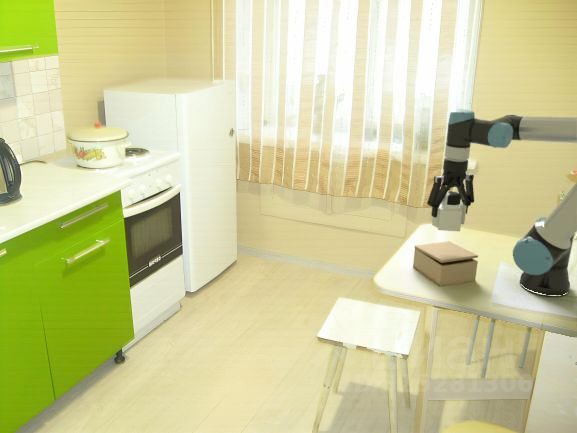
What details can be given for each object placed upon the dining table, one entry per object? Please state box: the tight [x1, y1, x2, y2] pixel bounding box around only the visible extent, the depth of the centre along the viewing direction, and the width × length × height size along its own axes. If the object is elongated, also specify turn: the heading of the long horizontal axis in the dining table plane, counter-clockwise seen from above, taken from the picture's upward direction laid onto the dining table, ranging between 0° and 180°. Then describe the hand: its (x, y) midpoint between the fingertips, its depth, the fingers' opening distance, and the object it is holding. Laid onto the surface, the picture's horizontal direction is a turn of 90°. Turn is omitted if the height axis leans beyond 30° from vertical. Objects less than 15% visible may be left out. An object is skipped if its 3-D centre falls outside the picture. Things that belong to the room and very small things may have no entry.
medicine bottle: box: [436, 190, 463, 232], centre depth 202 cm, size 7×7×12 cm
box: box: [412, 247, 479, 287], centre depth 208 cm, size 16×14×7 cm
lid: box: [414, 241, 479, 263], centre depth 206 cm, size 16×14×1 cm
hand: (448, 224), depth 203 cm, fingers closed on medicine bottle, 9 cm apart
